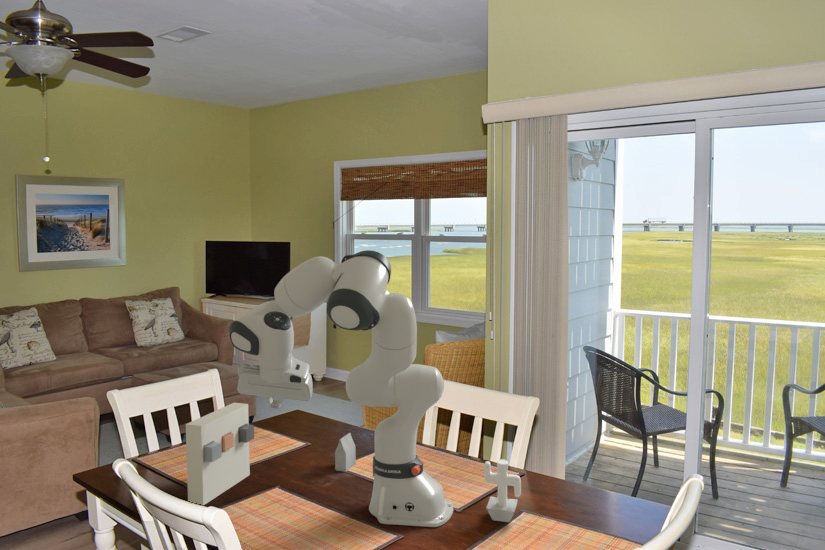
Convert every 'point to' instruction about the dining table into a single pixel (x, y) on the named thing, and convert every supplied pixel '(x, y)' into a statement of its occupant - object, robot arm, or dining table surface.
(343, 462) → the white carton box
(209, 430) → the control panel
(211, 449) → the slate grey button
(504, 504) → the figurine
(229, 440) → the terracotta button
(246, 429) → the charcoal button
